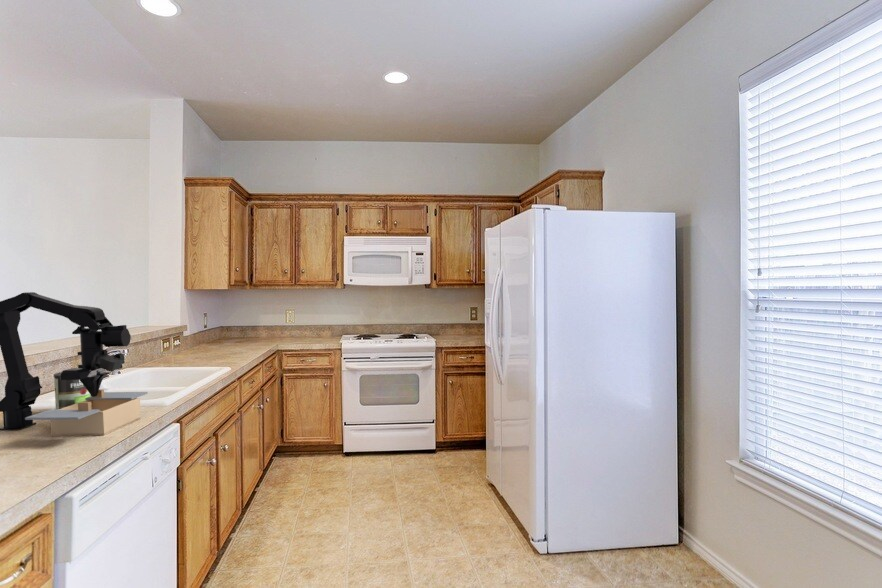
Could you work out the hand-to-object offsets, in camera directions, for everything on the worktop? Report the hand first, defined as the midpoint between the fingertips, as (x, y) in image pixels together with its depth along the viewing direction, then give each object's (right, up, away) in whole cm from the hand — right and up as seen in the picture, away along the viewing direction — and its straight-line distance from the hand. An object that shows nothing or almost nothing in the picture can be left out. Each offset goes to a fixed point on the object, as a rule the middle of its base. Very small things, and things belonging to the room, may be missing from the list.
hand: (94, 396), depth 153 cm
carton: (+4, -9, -4) cm, 10 cm away
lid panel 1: (+3, -2, -17) cm, 17 cm away
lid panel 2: (+4, -1, +5) cm, 6 cm away
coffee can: (-16, -9, +13) cm, 23 cm away
